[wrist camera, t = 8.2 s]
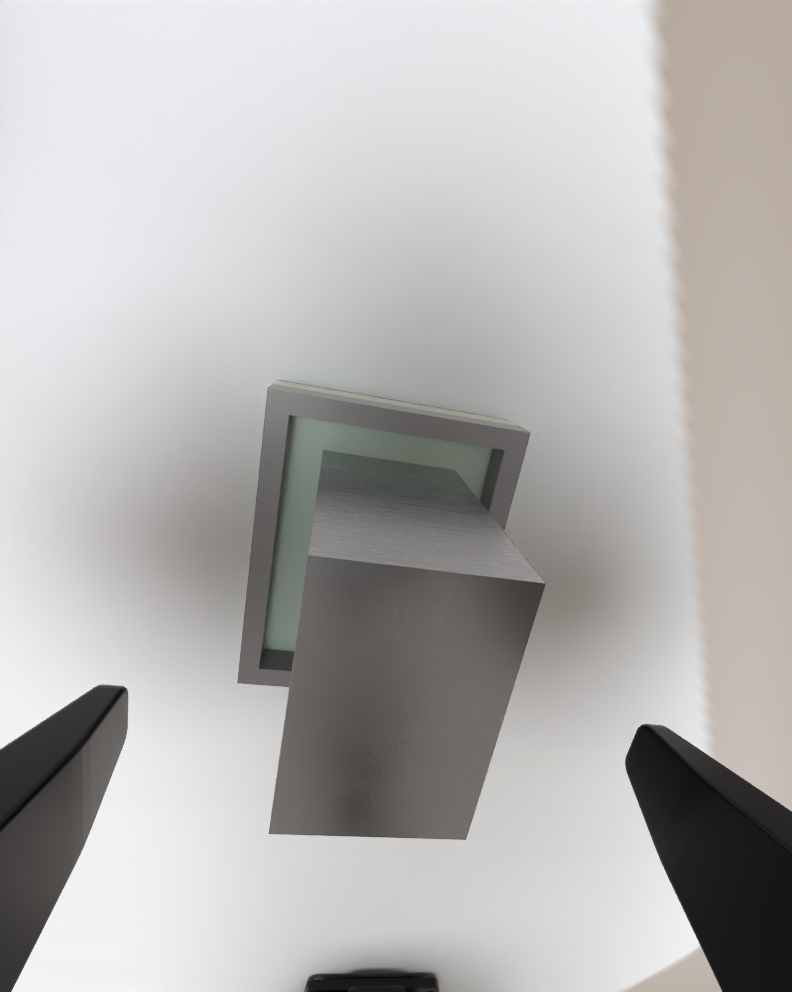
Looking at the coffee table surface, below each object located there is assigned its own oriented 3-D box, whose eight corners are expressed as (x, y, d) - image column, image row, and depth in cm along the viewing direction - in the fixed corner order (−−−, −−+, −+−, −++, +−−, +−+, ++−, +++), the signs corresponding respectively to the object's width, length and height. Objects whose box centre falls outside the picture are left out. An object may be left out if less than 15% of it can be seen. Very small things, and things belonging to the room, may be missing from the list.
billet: (416, 637, 17) (465, 839, 10) (297, 626, 16) (268, 833, 10) (455, 470, 15) (545, 583, 8) (322, 449, 14) (308, 555, 8)
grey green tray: (446, 661, 18) (458, 699, 17) (248, 644, 17) (237, 683, 15) (507, 420, 16) (530, 432, 14) (277, 380, 14) (267, 387, 13)
